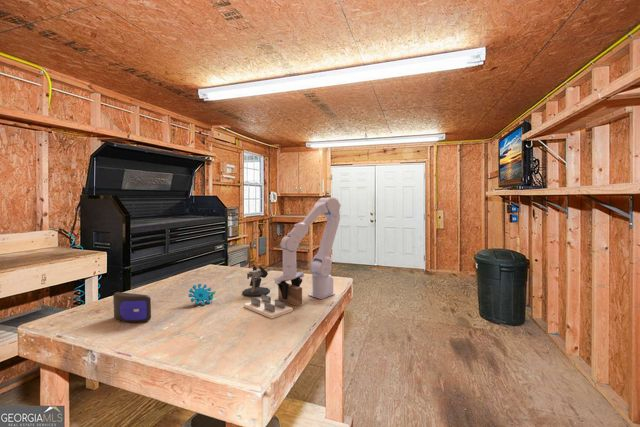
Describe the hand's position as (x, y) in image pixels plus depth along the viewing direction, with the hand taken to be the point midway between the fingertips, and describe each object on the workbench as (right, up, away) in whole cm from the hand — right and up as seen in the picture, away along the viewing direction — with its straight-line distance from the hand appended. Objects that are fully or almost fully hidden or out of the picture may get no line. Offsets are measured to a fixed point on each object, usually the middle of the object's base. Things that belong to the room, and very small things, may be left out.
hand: (289, 297), depth 123 cm
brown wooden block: (0, -2, 0) cm, 2 cm away
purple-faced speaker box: (-55, -3, -17) cm, 58 cm away
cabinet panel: (-8, -2, -8) cm, 12 cm away
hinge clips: (-8, -1, -8) cm, 12 cm away
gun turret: (-16, -2, +15) cm, 22 cm away
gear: (-37, -3, -1) cm, 37 cm away
